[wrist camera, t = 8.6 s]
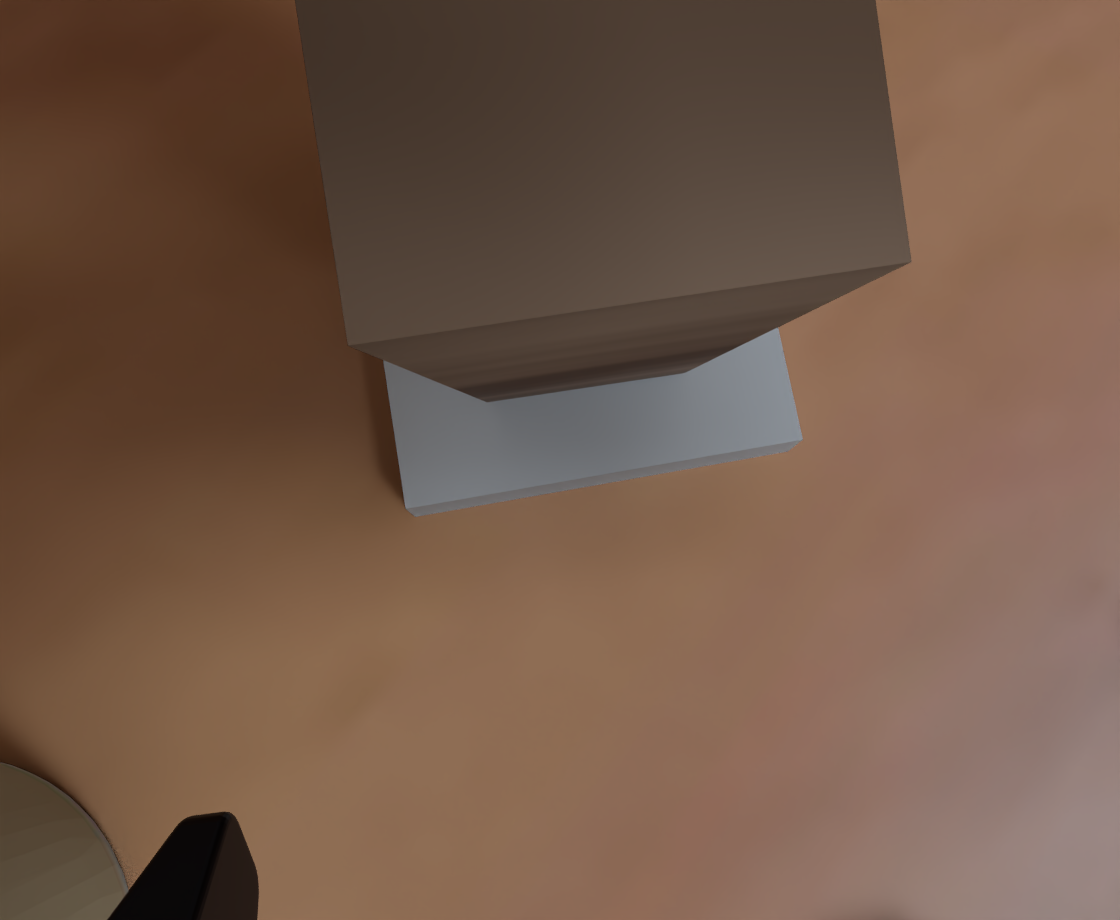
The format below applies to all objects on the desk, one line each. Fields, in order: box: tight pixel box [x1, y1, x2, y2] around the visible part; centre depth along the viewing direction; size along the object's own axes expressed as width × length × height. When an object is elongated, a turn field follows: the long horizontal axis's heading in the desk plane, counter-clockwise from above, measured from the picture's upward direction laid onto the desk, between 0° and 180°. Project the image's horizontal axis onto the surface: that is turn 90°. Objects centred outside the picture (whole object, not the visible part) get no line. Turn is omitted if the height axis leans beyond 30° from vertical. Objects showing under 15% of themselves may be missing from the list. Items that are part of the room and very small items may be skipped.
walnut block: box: [295, 0, 911, 402], centre depth 13 cm, size 4×4×13 cm
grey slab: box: [383, 328, 803, 517], centre depth 21 cm, size 8×8×2 cm
